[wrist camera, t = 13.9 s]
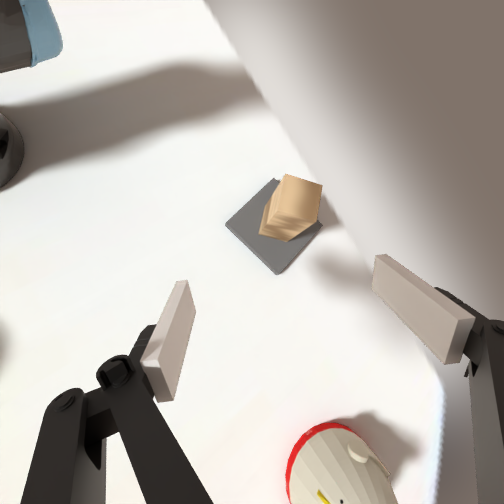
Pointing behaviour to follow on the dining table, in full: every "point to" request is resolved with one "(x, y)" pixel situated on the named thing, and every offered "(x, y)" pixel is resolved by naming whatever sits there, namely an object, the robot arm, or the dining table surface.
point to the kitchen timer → (336, 469)
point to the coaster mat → (265, 247)
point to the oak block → (290, 208)
